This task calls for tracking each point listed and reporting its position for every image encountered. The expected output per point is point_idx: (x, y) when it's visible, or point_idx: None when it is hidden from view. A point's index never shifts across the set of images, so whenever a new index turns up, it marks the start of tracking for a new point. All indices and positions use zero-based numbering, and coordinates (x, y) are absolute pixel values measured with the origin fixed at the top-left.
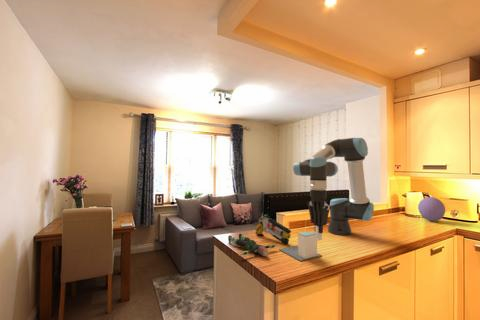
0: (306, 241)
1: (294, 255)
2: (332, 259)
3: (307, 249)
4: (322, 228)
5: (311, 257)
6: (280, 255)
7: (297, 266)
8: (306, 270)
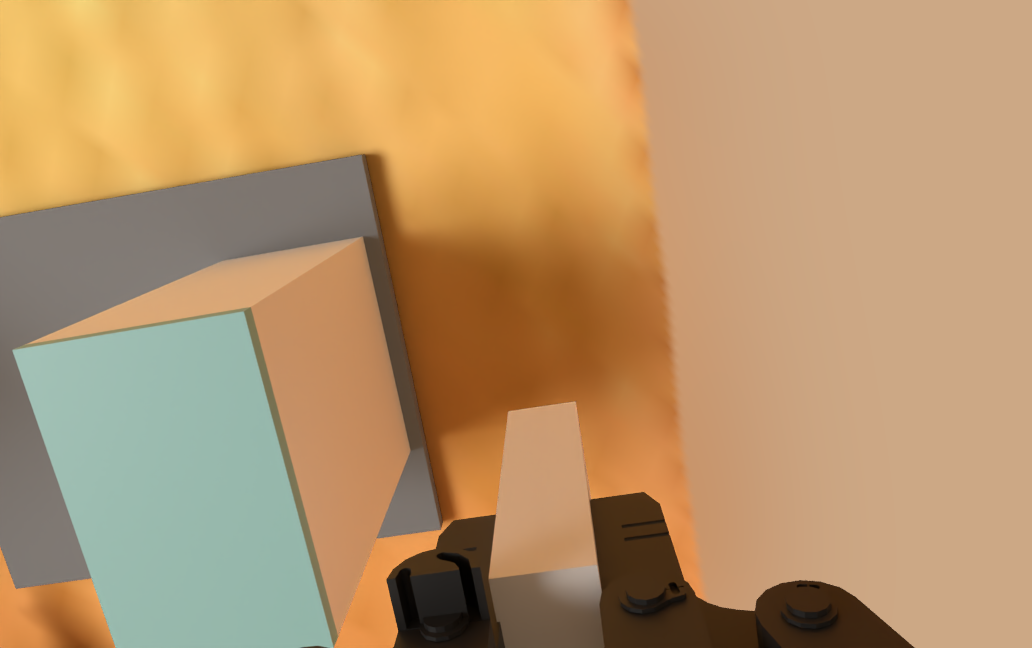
0: (354, 544)
1: None
2: (501, 76)
3: (378, 458)
4: (676, 568)
5: (396, 350)
6: None
7: None
8: None
